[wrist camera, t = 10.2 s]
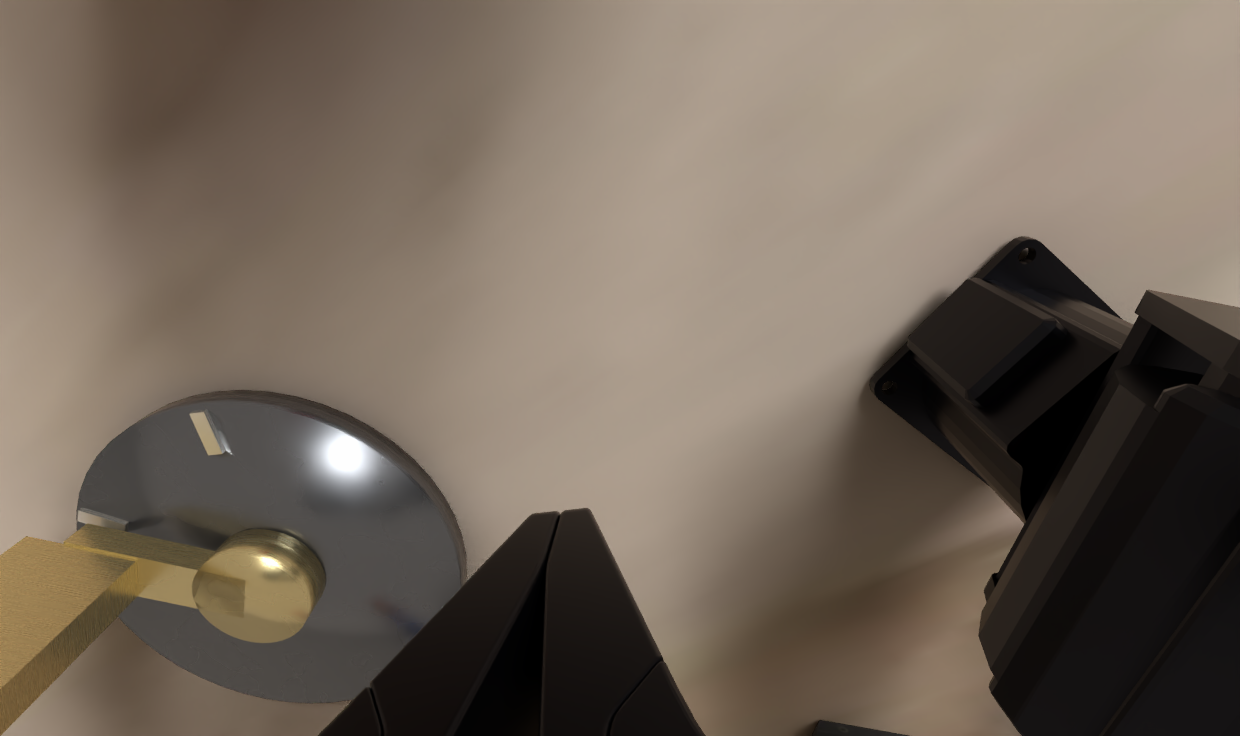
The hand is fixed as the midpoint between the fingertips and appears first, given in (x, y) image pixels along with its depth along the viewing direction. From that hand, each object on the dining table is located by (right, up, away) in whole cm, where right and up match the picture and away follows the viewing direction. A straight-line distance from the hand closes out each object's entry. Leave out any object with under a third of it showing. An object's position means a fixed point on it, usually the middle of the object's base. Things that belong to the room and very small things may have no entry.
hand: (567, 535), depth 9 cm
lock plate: (-12, -5, +15) cm, 20 cm away
